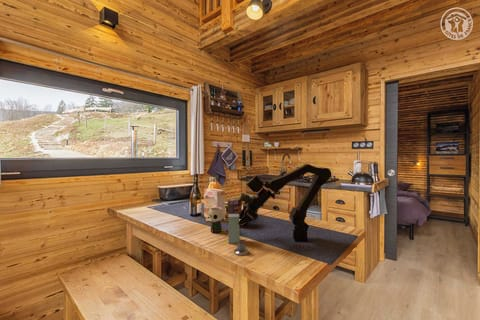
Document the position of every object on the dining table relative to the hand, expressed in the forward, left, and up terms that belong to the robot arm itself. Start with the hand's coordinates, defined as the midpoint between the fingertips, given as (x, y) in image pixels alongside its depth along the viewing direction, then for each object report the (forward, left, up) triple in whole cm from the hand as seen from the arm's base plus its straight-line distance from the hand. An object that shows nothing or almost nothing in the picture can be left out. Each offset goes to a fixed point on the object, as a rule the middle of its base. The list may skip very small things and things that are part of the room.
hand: (238, 221), depth 111 cm
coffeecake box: (+21, -39, -10) cm, 45 cm away
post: (-3, +12, -10) cm, 16 cm away
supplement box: (+5, -25, -10) cm, 27 cm away
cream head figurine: (+14, -13, -10) cm, 22 cm away
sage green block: (+2, 0, -10) cm, 10 cm away
